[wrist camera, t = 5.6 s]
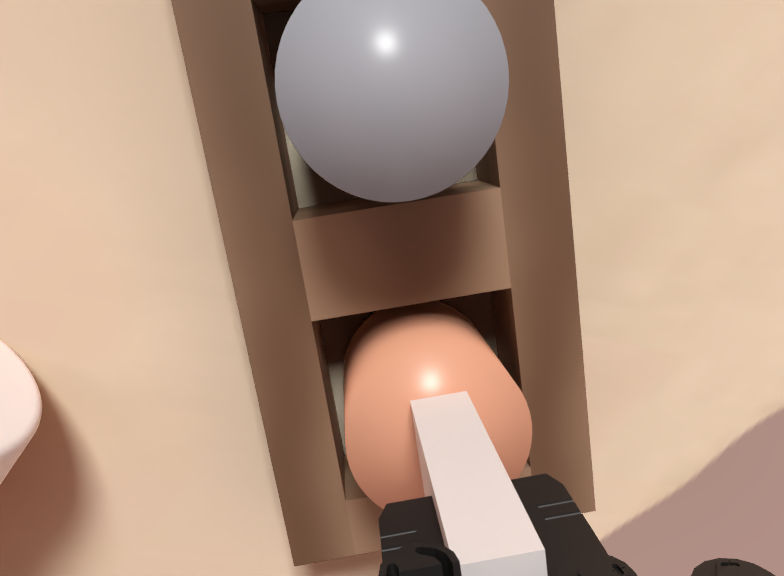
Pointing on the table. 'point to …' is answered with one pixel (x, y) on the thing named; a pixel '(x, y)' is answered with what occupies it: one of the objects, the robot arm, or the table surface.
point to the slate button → (391, 92)
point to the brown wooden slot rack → (389, 261)
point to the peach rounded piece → (422, 394)
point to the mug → (16, 408)
